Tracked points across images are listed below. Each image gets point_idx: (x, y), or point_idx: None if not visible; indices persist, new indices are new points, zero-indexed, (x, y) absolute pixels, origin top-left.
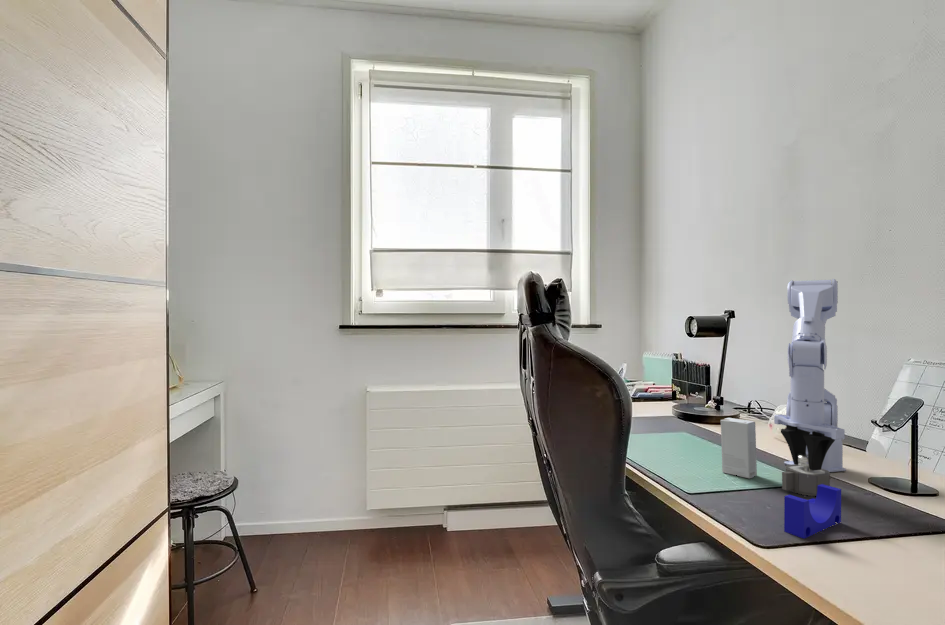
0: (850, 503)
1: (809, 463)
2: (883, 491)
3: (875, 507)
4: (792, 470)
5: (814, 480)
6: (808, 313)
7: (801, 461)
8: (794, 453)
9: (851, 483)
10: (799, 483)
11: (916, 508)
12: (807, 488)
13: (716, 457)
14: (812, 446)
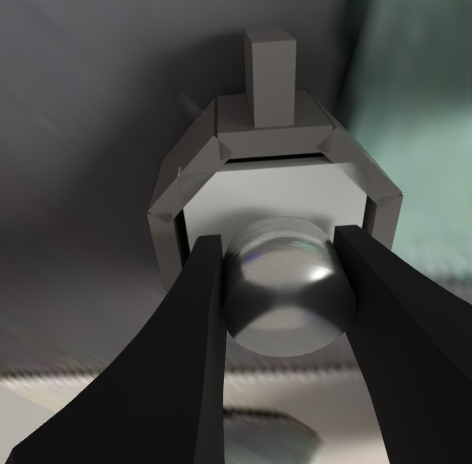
0: (88, 237)
1: (209, 252)
2: None
3: (49, 287)
4: (285, 141)
5: (158, 186)
6: None
7: (278, 240)
8: (367, 269)
9: (290, 375)
10: (211, 113)
11: (54, 378)
12: (185, 137)
13: None
14: (115, 378)
